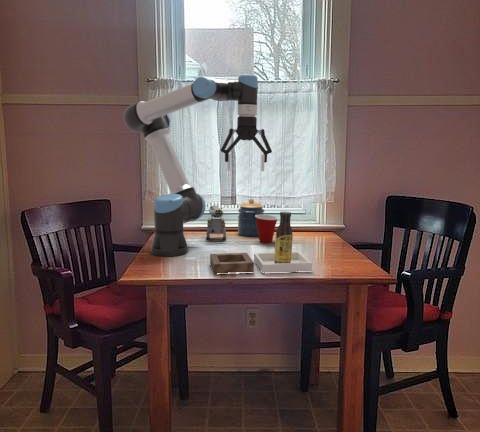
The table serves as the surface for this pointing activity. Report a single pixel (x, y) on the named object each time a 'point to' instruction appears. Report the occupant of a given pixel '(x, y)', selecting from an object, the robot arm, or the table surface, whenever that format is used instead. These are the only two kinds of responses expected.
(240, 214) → the canister
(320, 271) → the table surface
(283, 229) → the sauce bottle
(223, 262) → the walnut holder
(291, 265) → the plastic tray
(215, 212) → the figurine
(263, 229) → the plastic cup
